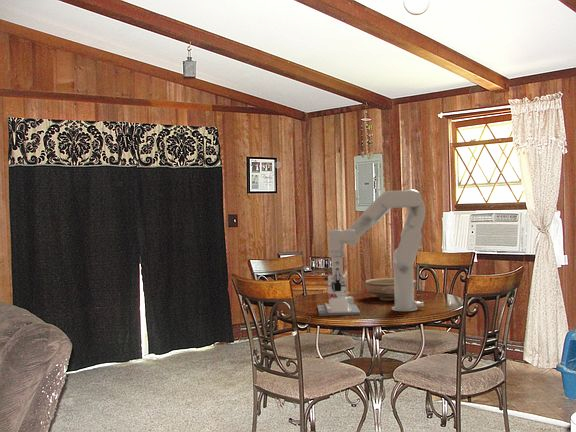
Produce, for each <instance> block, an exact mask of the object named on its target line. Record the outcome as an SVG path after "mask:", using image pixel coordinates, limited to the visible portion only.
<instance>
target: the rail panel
mask: <svg viewBox="0 0 576 432" xmlns="http://www.w3.org/2000/svg"><path fill="white" fill-rule="evenodd" d="M347 297H348V296H346V297H333V298H331V300H330V299H329V298H328V303H326V302H325V304H323V305H322V304H321V305H320V304H318V305H317V311H318V315H319V317H321V316H325V317H326V316H354V315H355V316H357V315H361V311H360V309H359V307H358V306H357V304H356V303H354V304H348V299H347Z"/></svg>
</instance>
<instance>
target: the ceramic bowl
mask: <svg viewBox="0 0 576 432" xmlns="http://www.w3.org/2000/svg"><path fill="white" fill-rule="evenodd" d="M416 282H417V280H415V279H413V285H414V290H415V289H416V286H417V283H416ZM364 283H365V289H366V290H367V292H368V293H369V294H372V295H374V296H375V297H378V299H379V300H382V301H395V295H394V277H387V278H386V277H381V278H372V279H367V280H365V281H364Z"/></svg>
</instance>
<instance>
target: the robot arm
mask: <svg viewBox="0 0 576 432" xmlns="http://www.w3.org/2000/svg"><path fill="white" fill-rule="evenodd" d="M400 208H401V209H402V208H403V209H404V208H407V215H406V219H405V222H404V225H403V227H402V230H401V232H400V242H399V244H398V247H397V248H395V249H394V251H393V255H392V263H393V278H394V295H395V300H394V306H391V310H392V311H395V312H414V311H417V310H418V307H424V306H425V304H424V301H416V300H414V299H415V295H414V293H415V291H414V290H415V289H414V285H413V280H414V266H413V264H414V262H415V260H416V258H417V255H418V252H419V249H420V246H421V243H422V239H423V234H422V228H423V225H424V221H425V218H426V206H425V202H424V201H423V198H422V195H421V193H420V191H418V190H416V189H404V190H386V191H383V192H382V193H381V194H380V195H379V196H378V197H377V198H376V199H375V200H374V201H373V202H372V203H371V204H370V205H369V206H367V208H366V209H365V210H364V211H363V212H362V214H361V215H360V216H359V217H358V218H357V219H356V220H355V221H354V222H353V223H352V224H351V225H350V226H349V227H348V228H347V229H331V230H329V231H328V257H329V258H331V272H332V275H333V277H335V283H334V289H335V291H341V283H340V276H342V277H343V275H344V269H343V267H344V266H343V262H344V261H343V258H345V244H347V245H354V244H355V245H356V244H357V242H359V239H360V238H361V237H362V236H363V235H364V234H365V233H366V232H367V231H369V229H370V228H371V227H373V226H375V225H376V224H377V223H378V222H380V221H381V220H382V218H384V217H385V215H386V214H387V213H388V212H389V211H390V210H392V209H400ZM336 276H337V277H336Z"/></svg>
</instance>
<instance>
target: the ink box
mask: <svg viewBox="0 0 576 432" xmlns="http://www.w3.org/2000/svg"><path fill="white" fill-rule="evenodd" d="M336 277H337V276H336ZM334 283H335V277H333V274H330V275H327V298H328V300H329V299H330V300H331V298H333V297H347V276H346V275H344V274H343V277H342V276H340V283H341V291H335V289H334Z"/></svg>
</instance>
